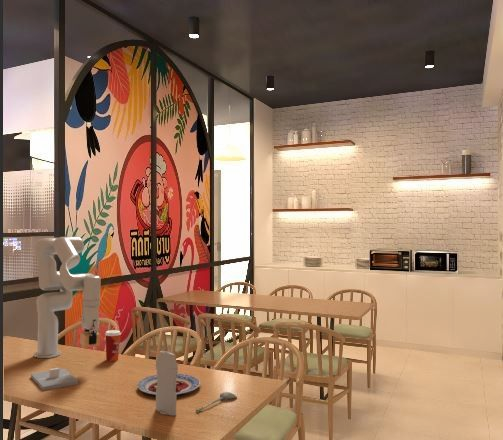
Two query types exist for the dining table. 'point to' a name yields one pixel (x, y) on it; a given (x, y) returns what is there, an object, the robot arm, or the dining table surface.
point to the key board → (54, 379)
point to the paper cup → (112, 345)
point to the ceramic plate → (182, 384)
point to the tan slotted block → (85, 339)
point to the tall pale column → (166, 383)
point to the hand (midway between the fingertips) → (89, 341)
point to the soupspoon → (222, 396)
